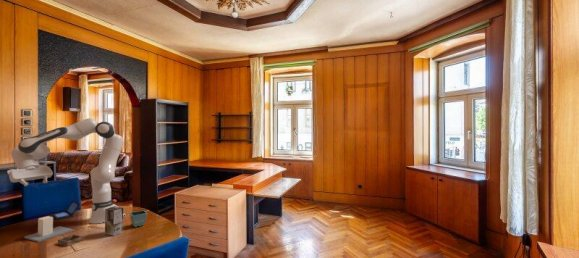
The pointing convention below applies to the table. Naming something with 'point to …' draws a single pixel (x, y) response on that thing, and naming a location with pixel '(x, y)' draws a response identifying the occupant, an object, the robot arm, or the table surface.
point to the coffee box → (114, 220)
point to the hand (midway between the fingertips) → (36, 183)
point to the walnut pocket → (75, 240)
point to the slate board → (56, 232)
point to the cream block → (45, 226)
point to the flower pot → (138, 218)
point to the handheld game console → (67, 211)
